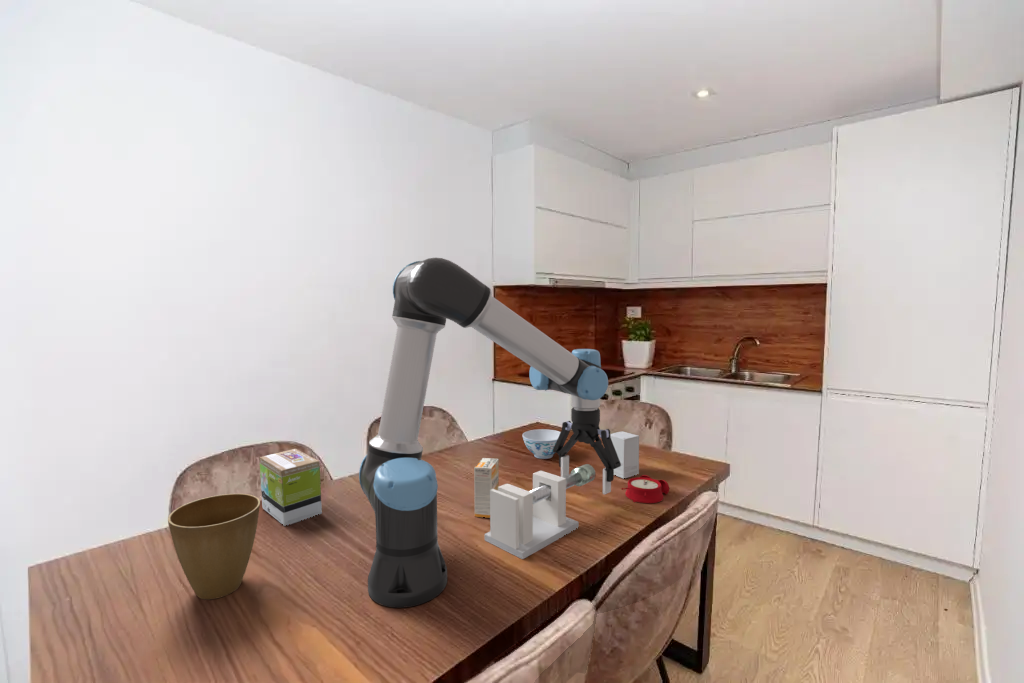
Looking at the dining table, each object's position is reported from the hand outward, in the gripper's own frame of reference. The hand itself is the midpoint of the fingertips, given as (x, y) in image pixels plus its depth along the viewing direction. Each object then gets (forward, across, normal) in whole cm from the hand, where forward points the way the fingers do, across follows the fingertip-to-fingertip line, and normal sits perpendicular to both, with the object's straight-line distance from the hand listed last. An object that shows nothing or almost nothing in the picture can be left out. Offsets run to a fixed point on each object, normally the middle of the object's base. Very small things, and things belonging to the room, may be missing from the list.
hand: (585, 485), depth 128 cm
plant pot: (+6, +29, +79) cm, 84 cm away
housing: (+6, 0, +21) cm, 22 cm away
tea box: (+6, +54, +56) cm, 78 cm away
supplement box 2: (+6, +6, -29) cm, 30 cm away
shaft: (-1, 0, +10) cm, 10 cm away
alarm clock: (+6, -8, -19) cm, 22 cm away
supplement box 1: (+6, +17, +20) cm, 27 cm away
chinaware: (+6, +36, -25) cm, 44 cm away
